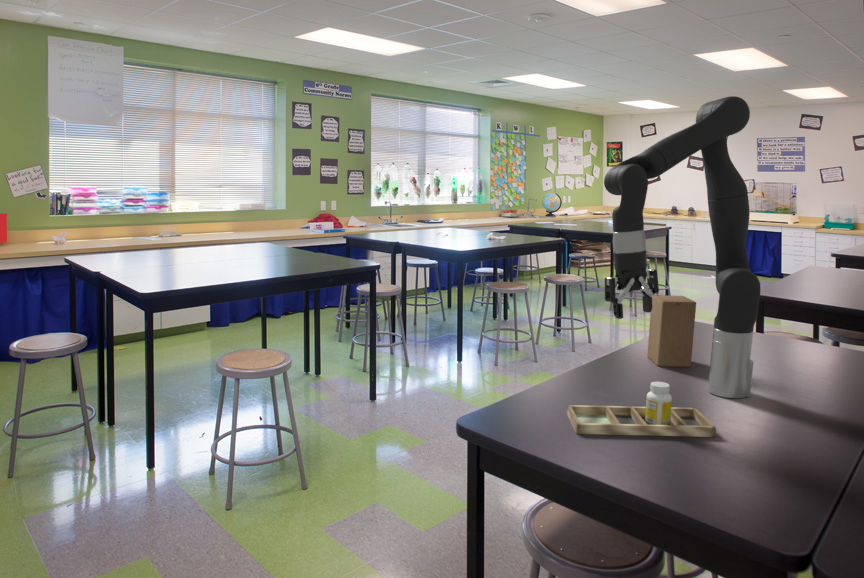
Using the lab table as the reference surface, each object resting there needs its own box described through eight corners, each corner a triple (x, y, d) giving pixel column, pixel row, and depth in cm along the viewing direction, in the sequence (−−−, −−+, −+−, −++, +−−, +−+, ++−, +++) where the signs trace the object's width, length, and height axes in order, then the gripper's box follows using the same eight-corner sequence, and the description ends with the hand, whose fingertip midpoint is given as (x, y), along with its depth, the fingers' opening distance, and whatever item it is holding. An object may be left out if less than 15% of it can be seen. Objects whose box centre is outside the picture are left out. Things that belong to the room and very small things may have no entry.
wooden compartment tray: (694, 416, 145) (695, 407, 145) (715, 437, 134) (716, 427, 133) (566, 413, 146) (567, 405, 146) (576, 433, 135) (576, 424, 134)
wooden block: (691, 367, 183) (697, 301, 180) (657, 367, 184) (662, 301, 180) (678, 357, 193) (683, 295, 190) (646, 357, 193) (651, 295, 190)
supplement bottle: (669, 422, 142) (672, 382, 140) (670, 431, 136) (673, 389, 135) (644, 419, 143) (647, 379, 142) (644, 428, 138) (647, 386, 136)
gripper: (642, 244, 153) (645, 307, 156) (595, 252, 148) (599, 318, 151) (664, 245, 146) (667, 312, 149) (615, 254, 141) (619, 323, 144)
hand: (633, 315), depth 150 cm, fingers open, 8 cm apart
